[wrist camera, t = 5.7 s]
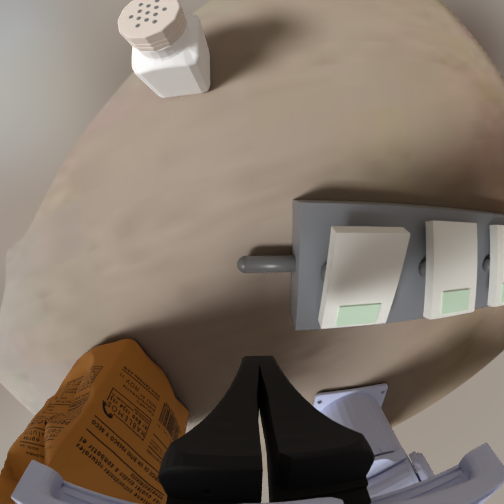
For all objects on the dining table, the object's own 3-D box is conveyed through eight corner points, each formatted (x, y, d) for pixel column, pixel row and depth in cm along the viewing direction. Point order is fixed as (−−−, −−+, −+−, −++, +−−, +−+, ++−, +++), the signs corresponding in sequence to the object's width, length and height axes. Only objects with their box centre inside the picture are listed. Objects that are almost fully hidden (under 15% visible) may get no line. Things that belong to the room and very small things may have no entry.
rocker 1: (376, 306, 20) (386, 324, 18) (315, 310, 20) (321, 330, 18) (395, 221, 17) (411, 234, 15) (326, 219, 17) (336, 233, 15)
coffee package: (131, 431, 26) (80, 582, 5) (69, 349, 24) (-46, 501, 2) (204, 420, 26) (181, 612, 4) (142, 326, 23) (16, 557, 2)
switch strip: (490, 292, 23) (507, 302, 20) (239, 313, 23) (238, 332, 20) (503, 213, 21) (521, 217, 18) (236, 199, 21) (235, 202, 18)
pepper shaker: (210, 50, 18) (190, -21, 8) (211, 94, 19) (187, 36, 9) (160, 57, 18) (115, -4, 8) (159, 101, 19) (105, 54, 9)
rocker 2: (459, 307, 19) (475, 311, 17) (416, 313, 19) (431, 319, 17) (461, 224, 19) (478, 222, 17) (417, 222, 19) (434, 220, 17)
